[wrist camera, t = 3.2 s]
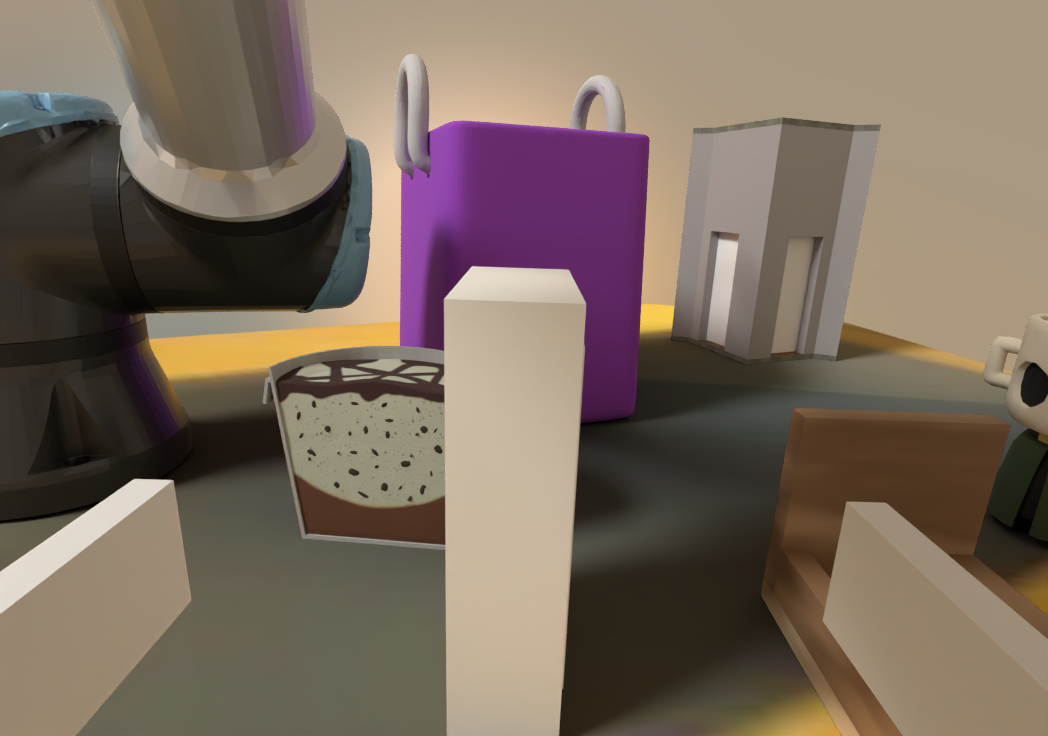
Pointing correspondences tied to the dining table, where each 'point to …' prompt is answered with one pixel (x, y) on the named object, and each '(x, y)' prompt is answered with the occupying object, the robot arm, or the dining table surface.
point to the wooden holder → (886, 477)
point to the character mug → (1036, 402)
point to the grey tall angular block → (771, 237)
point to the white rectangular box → (510, 494)
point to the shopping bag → (527, 221)
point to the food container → (365, 443)
